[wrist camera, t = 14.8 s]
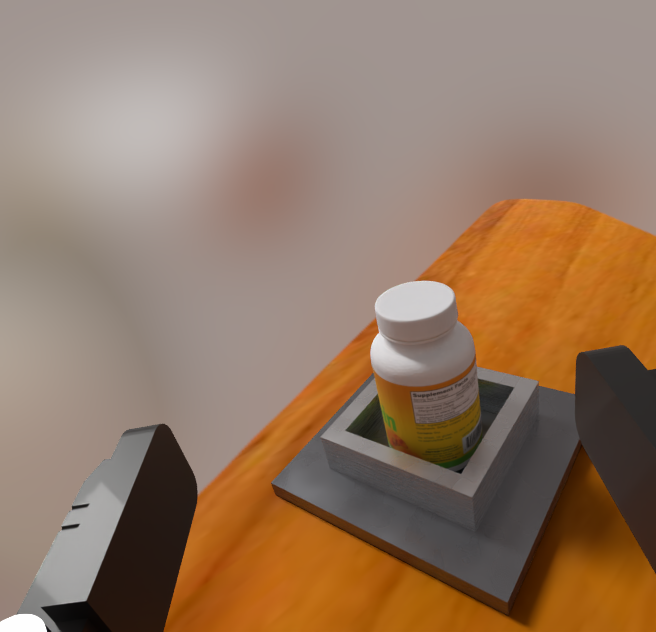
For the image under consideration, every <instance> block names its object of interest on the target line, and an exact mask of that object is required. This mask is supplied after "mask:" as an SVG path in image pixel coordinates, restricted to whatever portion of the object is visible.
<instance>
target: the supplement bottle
mask: <svg viewBox="0 0 656 632" xmlns="http://www.w3.org/2000/svg"><path fill="white" fill-rule="evenodd" d="M375 312H376V319H377V324H378V328H379V333H378V334H377V336H376V337H375V339H374V341H373V343H372V346H371V353H370V354H371V362H372V368H373V372H374V377H375V382H376V387H377V392H378V396H379V401H380V406H381V410H382V415H383V420H384V424H385V429H386V434H387V439H388V443H389V447H390V448H392V449H395V450H398V451H400V452H403V453H406V454H408V455H411V456H414V457H416V458H419V459H422V460H424V461H427V462H430V463H432V464H435V465H438V466H440V467H443V468H446V469H448V470H451V471H454V472H456V471H458V470H460V469H462V468H464V467H466V465H467V464H468V462H469V461H470V459H471V457H472V456H473V454H474V452H475V451H476V449H477V448H478V446H479V444H480V443H481V441H482V439H483V436H482V420H481V410H480V399H479V388H478V377H477V367H476V354H475V347H474V342H473V338H472V336H471V334H470V332H469V330H468V329H467V328H466V327H465V326H464V325H463V324H461V323H460V322H459V321H457V317H458V311H457V306H456V298H455V294H454V292H453V290H452V289H451V288H450V287H448V286H447V285H444V284H442V283H439V282H434V281H415V282H408V283H405V284H400V285H398V286H395V287H393V288H391V289H389V290H387V291H385V292H384V293H383V294H381V295H380V296H379V298H378V299H377V301H376V303H375Z"/></svg>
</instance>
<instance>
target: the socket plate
mask: <svg viewBox="0 0 656 632" xmlns="http://www.w3.org/2000/svg"><path fill="white" fill-rule="evenodd" d="M477 377H478V388H479V399H480V410H481V420H482V436H483V439H482V441H481V443H480V444H479V446H478V448H477V449H476V451H475V452H474V454H473V456H472V457H471V459H470V461H469V462H468V464H467V465H466V467H464V468H462V469H460V470H458V471H456V472H454V471H451V470H448V469H446V468H443V467H440V466H438V465H435V464H432V463H430V462H427V461H424V460H422V459H419V458H416V457H414V456H411V455H408V454H406V453H403V452H400V451H398V450H395V449H392V448H390V447H389V443H388V439H387V434H386V429H385V424H384V420H383V415H382V410H381V406H380V401H379V396H378V392H377V387H376V382H375V377H374V373H373V374H372V375H371V376H370V377H369V378H368V379H367V380H366V381H365V382H364V384H363V385H362V386H361V387H360V388H359V389H358V390H357V391H356V392H355V393H354V394H353V395H352V396H351V398H350V399H349V400H348V401H347V402H346V403H345V404H344V405H343V406H342V407H341V408H340V409H339V410H338V411H337V413H336V414H335V415H334V416H333V417H332V418H331V419H330V420H329V421H328V422H327V423H326V424H325V425H324V427H323V428H322V429H321V430H320V431H319V432H318V433H317V434H316V435H315V436H314V437H313V438H312V439H311V441H310V442H309V443H308V444H307V445H306V446H305V447H304V448H303V449H302V450H301V451H300V452H299V453H298V455H297V456H296V457H295V458H294V459H293V460H292V461H291V462H290V463H289V464H288V465H287V466H286V467H285V468H284V470H283V471H282V472H281V473H280V474H279V475H278V476H277V477H276V478H275V479H274V480H273V481H272V482H271V484H272V487H273V489H274V492H275V494H276V495H278V496H279V497H281V498H283V499H285V500H287V501H289V502H291V503H293V504H295V505H297V506H299V507H301V508H302V509H304V510H306V511H308V512H310V513H312V514H314V515H316V516H318V517H320V518H322V519H324V520H325V521H327V522H329V523H331V524H333V525H335V526H337V527H339V528H341V529H343V530H345V531H347V532H348V533H350V534H352V535H354V536H356V537H358V538H360V539H362V540H364V541H366V542H368V543H370V544H371V545H373V546H375V547H377V548H379V549H381V550H383V551H385V552H387V553H389V554H391V555H393V556H394V557H396V558H398V559H400V560H402V561H404V562H406V563H408V564H410V565H412V566H414V567H416V568H417V569H419V570H421V571H423V572H425V573H427V574H429V575H431V576H433V577H435V578H437V579H439V580H440V581H442V582H444V583H446V584H448V585H450V586H452V587H454V588H456V589H458V590H460V591H462V592H463V593H465V594H467V595H469V596H471V597H473V598H475V599H477V600H479V601H481V602H483V603H485V604H486V605H488V606H490V607H492V608H494V609H496V610H498V611H500V612H502V613H504V614H506V615H509V613H510V611H511V608H512V606H513V604H514V601H515V599H516V597H517V594H518V592H519V590H520V588H521V585H522V583H523V581H524V578H525V576H526V574H527V571H528V569H529V567H530V564H531V562H532V560H533V557H534V555H535V553H536V550H537V548H538V546H539V543H540V541H541V539H542V536H543V534H544V532H545V529H546V527H547V525H548V522H549V520H550V518H551V515H552V513H553V511H554V508H555V506H556V504H557V501H558V499H559V497H560V495H561V492H562V490H563V488H564V485H565V483H566V481H567V478H568V476H569V474H570V471H571V469H572V467H573V464H574V462H575V460H576V457H577V455H578V453H579V450H580V448H581V446H582V443H581V440H580V438H579V435H578V431H577V427H576V422H575V394H571V393H567V392H563V391H558V390H554V389H550V388H546V387H542V386H539V381H535V380H531V379H527V378H523V377H518V376H514V375H510V374H505V373H501V372H497V371H493V370H488V369H484V368H480V367H477Z"/></svg>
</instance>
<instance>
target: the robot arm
mask: <svg viewBox="0 0 656 632" xmlns="http://www.w3.org/2000/svg"><path fill="white" fill-rule="evenodd" d="M575 422H576V427H577V431H578V435H579V438H580V440H581V443H582V445H583V447H584V449H585V451H586V452H587V454H588V456H589V458H590V459H591V461H592V463H593V465H594V466H595V468H596V470H597V472H598V473H599V475H600V477H601V479H602V480H603V482H604V484H605V486H606V487H607V489H608V491H609V493H610V494H611V496H612V498H613V500H614V501H615V503H616V505H617V507H618V509H619V510H620V512H621V514H622V516H623V517H624V519H625V521H626V523H627V524H628V526H629V528H630V530H631V531H632V533H633V535H634V537H635V538H636V540H637V542H638V544H639V545H640V547H641V549H642V551H643V552H644V554H645V556H646V558H647V559H648V561H649V563H650V565H651V566H652V568H653V570H654V572H655V573H656V369H653V370H647V369H646V368H645V367H644V365H643V364H642V363H641V362H640V361H639V360H638V358H637V357H636V356H635V355H634V354H633V353H632V351H631V350H630V349H629V348H627V347H626V346H624V345H621V346H615V347H609V348H603V349H598V350H592V351H586V352H581V353H579V354H578V356H577V360H576V384H575ZM196 504H197V483H196V479H195V476H194V474H193V471H192V469H191V467H190V466H189V464H188V462H187V460H186V458H185V456H184V454H183V452H182V450H181V448H180V446H179V444H178V443H177V441H176V439H175V437H174V435H173V433H172V431H171V429H170V428H169V427H168V426H167V425H165V424H158V425H152V426H147V427H141V428H135V429H129V430H127V431H125V432H124V433H123V435H122V436H121V438H120V441H119V443H118V445H117V447H116V449H115V451H114V453H113V455H112V457H111V459H106V460H103V461H102V463H101V464H100V465H99V466H98V467H97V468H96V469H95V470H94V471H93V473H92V474H91V475H90V476H89V477H88V478H87V480H86V481H84V483H83V485H82V487H81V489H80V491H79V493H78V495H77V497H76V499H75V501H74V503H73V505H72V511H69V512H68V514H67V516H66V518H65V520H64V522H63V524H62V531H59V532H58V534H57V536H56V538H55V540H54V542H53V544H52V546H51V548H50V550H49V552H48V554H47V556H46V558H45V560H44V562H43V564H42V566H41V567H40V569H39V571H38V573H37V575H36V577H35V579H34V582H33V583H32V585H31V587H30V589H29V591H28V593H27V595H26V597H25V599H24V601H23V603H22V605H21V607H20V609H19V610H18V612H17V614H16V616H14V617H10V618H8V619H6V620H4V621H2V622H0V632H163V631H164V627H165V623H166V619H167V615H168V612H169V608H170V604H171V600H172V596H173V593H174V589H175V585H176V581H177V577H178V574H179V570H180V566H181V562H182V558H183V555H184V551H185V547H186V543H187V539H188V535H189V532H190V528H191V524H192V520H193V516H194V513H195V509H196Z"/></svg>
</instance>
